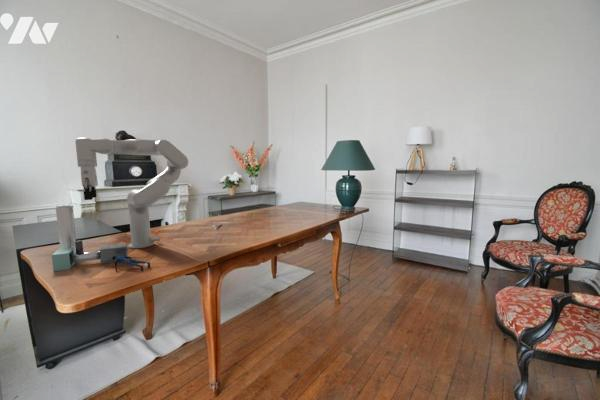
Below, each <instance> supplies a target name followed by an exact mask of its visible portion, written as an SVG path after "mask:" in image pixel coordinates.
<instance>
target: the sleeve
mask: <svg viewBox="0 0 600 400" xmlns="http://www.w3.org/2000/svg"><path fill="white" fill-rule="evenodd" d="M99 251H100V257H101V259H100V265H106V264H107V265H108V264H113V263H114V264H115V260H113V259H112V257H113V256H116V257H119V256H126V257H129V252H128V251H129V249H128V242H125V243H117V244H115V243H114V244H107V245H102V246H101V247H100V249H99Z"/></svg>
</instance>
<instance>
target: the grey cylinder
mask: <svg viewBox="0 0 600 400" xmlns="http://www.w3.org/2000/svg"><path fill="white" fill-rule="evenodd" d="M55 213H56V222H57V231H58V232H57V233H58V242H59V249H65V248H74V254H76V247H75V241H77V235H76V226H75V225H76V224H75V217H74V216H75V215H74V208H73V206H72V205H71V204H58V205H56V206H55Z"/></svg>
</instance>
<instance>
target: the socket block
mask: <svg viewBox="0 0 600 400" xmlns="http://www.w3.org/2000/svg"><path fill="white" fill-rule="evenodd" d="M69 254H74V248H65V249H60V248H57V250H56V251H54V253H52V254H51V260H52V270H53V272H59V271H65V270H66V271H67V270H71V269H72V267H73V266H74V265H75V263H70V255H69Z"/></svg>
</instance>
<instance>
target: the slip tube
mask: <svg viewBox="0 0 600 400" xmlns="http://www.w3.org/2000/svg"><path fill="white" fill-rule="evenodd" d="M83 245H84V244H83V240H81V239H78V240H76V241H75V247H76V254H69V255H70V263H83V262H91V261H99V260H100V261H101V257H100V250H95V251H87V252H84V246H83Z"/></svg>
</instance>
